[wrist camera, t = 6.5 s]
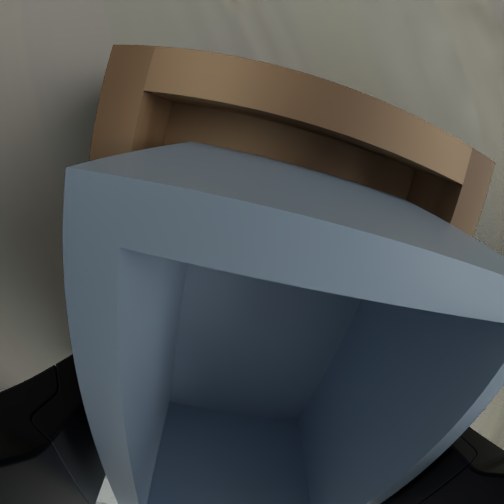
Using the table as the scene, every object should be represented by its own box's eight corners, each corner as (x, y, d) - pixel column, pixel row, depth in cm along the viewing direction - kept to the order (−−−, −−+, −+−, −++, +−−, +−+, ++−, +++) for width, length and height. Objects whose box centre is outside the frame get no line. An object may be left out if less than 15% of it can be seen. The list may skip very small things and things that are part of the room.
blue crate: (406, 200, 8) (556, 295, 3) (304, 418, 12) (322, 537, 6) (191, 141, 8) (66, 167, 2) (157, 395, 11) (125, 520, 6)
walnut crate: (432, 149, 10) (495, 162, 7) (320, 407, 16) (332, 462, 12) (156, 70, 9) (113, 44, 6) (124, 373, 15) (102, 428, 11)
